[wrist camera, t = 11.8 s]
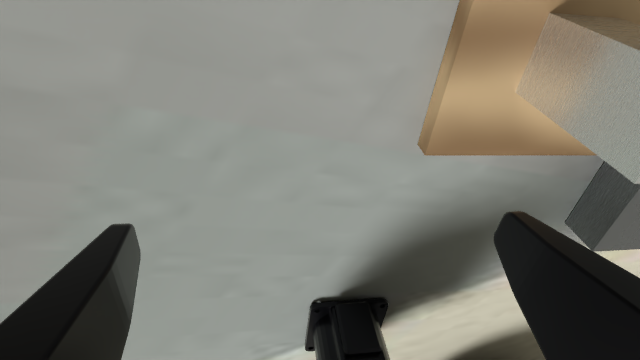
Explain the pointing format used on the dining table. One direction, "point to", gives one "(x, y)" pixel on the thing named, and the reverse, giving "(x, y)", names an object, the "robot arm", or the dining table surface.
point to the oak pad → (500, 79)
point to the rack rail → (608, 212)
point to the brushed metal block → (590, 84)
